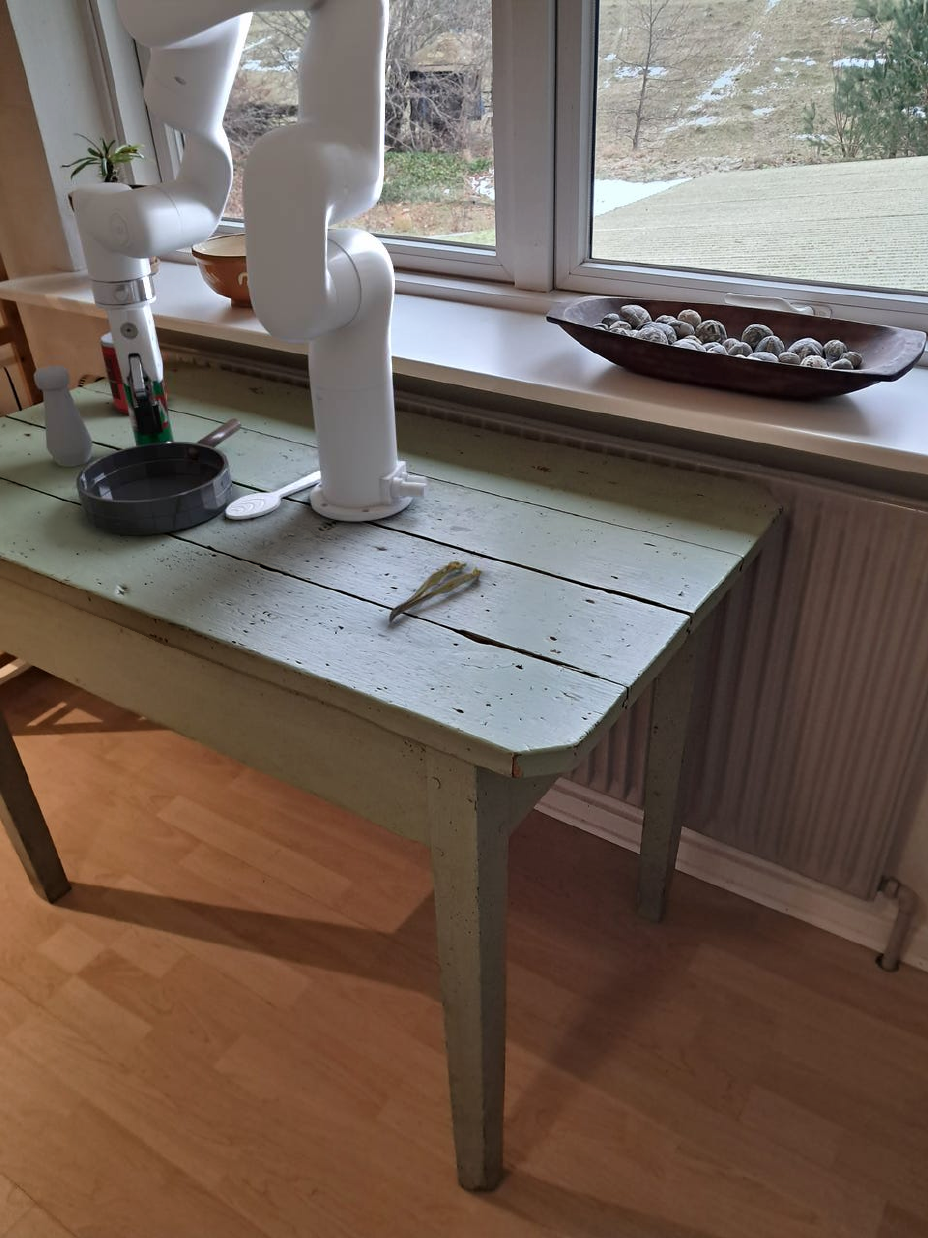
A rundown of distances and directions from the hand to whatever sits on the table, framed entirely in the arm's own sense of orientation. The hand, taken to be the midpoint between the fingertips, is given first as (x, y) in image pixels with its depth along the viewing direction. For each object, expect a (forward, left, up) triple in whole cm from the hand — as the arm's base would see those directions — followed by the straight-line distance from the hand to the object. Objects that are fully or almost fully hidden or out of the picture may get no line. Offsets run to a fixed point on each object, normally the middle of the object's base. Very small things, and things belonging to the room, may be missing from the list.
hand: (151, 424), depth 132 cm
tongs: (-51, +25, -4) cm, 57 cm away
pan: (-10, +14, -4) cm, 18 cm away
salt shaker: (+9, +6, -4) cm, 12 cm away
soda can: (0, 0, -4) cm, 4 cm away
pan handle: (-10, 0, -2) cm, 10 cm away
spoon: (-24, +7, -4) cm, 25 cm away
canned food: (+13, -15, -4) cm, 20 cm away
